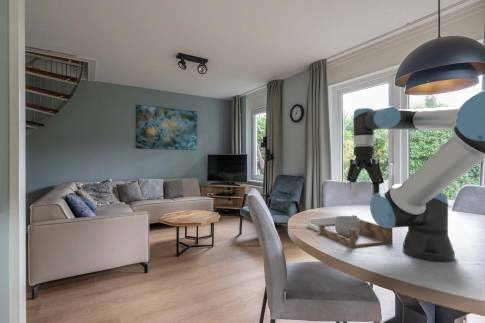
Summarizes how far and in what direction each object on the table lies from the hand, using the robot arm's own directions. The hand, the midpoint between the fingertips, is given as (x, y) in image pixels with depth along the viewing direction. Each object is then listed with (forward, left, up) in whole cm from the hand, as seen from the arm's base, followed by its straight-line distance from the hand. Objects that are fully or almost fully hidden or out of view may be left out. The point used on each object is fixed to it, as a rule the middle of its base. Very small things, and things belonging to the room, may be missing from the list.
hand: (364, 199), depth 105 cm
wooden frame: (+6, 0, -18) cm, 19 cm away
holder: (+24, 0, -18) cm, 30 cm away
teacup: (+11, 0, -18) cm, 22 cm away
